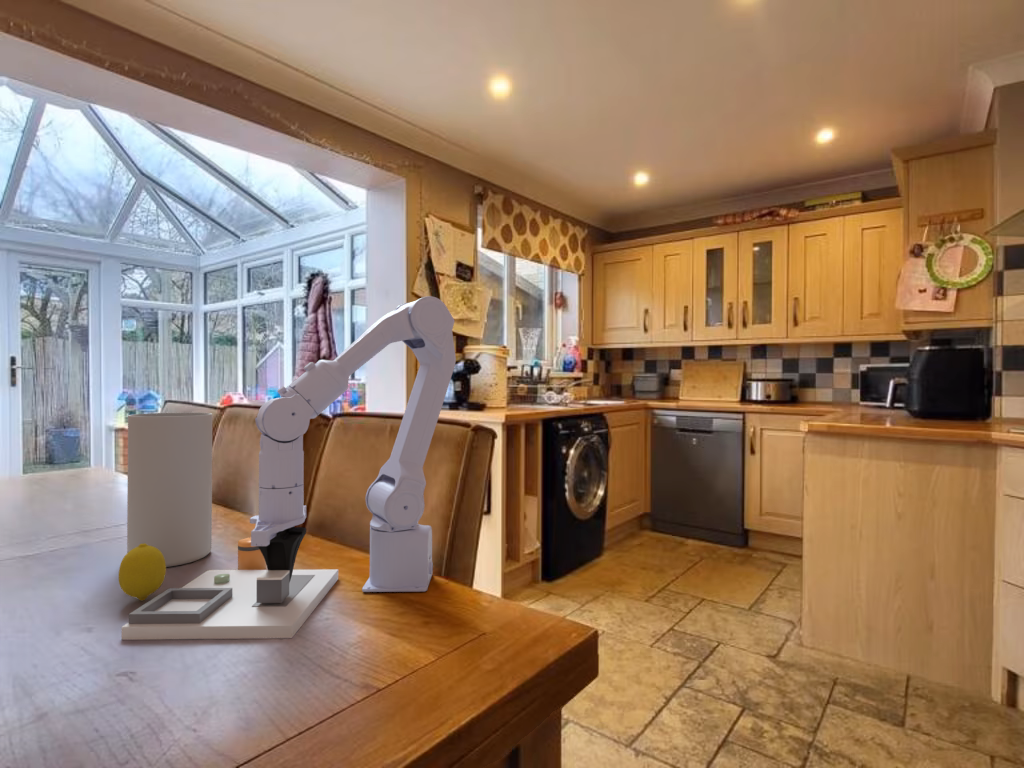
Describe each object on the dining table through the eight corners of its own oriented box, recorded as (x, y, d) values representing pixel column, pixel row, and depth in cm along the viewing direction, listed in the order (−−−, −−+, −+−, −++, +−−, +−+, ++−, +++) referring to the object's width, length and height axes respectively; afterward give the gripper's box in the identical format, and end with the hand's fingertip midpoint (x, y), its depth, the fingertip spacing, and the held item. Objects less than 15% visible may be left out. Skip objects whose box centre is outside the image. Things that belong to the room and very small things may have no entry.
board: (338, 578, 86) (338, 561, 86) (291, 638, 66) (291, 615, 66) (208, 579, 86) (208, 562, 86) (121, 639, 66) (121, 617, 66)
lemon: (142, 610, 74) (142, 550, 74) (108, 606, 75) (108, 547, 75) (175, 594, 79) (175, 539, 79) (142, 591, 81) (143, 536, 81)
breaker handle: (289, 594, 75) (289, 570, 75) (281, 602, 72) (281, 577, 72) (265, 594, 74) (265, 570, 74) (256, 602, 72) (256, 577, 72)
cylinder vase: (109, 563, 93) (110, 415, 93) (179, 543, 104) (180, 411, 104) (160, 574, 88) (161, 417, 88) (227, 551, 100) (228, 413, 99)
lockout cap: (270, 566, 92) (270, 536, 92) (259, 575, 88) (260, 544, 88) (244, 566, 92) (245, 536, 92) (232, 575, 87) (233, 544, 87)
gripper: (273, 476, 83) (272, 566, 83) (226, 495, 68) (225, 604, 68) (320, 476, 83) (319, 565, 83) (284, 495, 69) (283, 604, 69)
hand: (280, 583), depth 76 cm, fingers closed
